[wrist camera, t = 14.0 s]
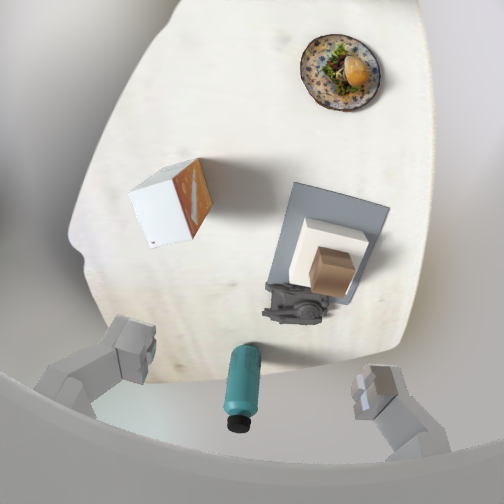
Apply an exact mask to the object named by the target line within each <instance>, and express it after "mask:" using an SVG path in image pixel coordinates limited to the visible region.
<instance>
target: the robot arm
mask: <svg viewBox="0 0 504 504" xmlns="http://www.w3.org/2000/svg"><path fill="white" fill-rule="evenodd" d="M155 334H156V326H155V325H153V324H149V323H146V322H143V321H139V320H136V319H133V318H129V317H126V316H123V315H120V314H118V315H117V316H116V317H115V318H114V320H113V321H112V323H111V325H110V326H109V328H108V330H107V331H106V333H105V335H104V336H103V338H102V340H101V342H100V343H97V342H96V343H93V344H91V345H89V346H87V347H85V348H83V349H81V350H79V351H77V352H75V353H73V354H71V355H69V356H67V357H65V358H63V359H61V360H59V361H57V362H55V363H53V364H51V365H49V366H48V367H47V368H46V370H45V372H44V373H43V375H42V377H41V378H40V380H39V381H38V383H37V385H36V386H35V388H34V390H32V389H30V388H28V387H27V386H25V385H23V384H21V383H20V382H18V381H16V380H14V379H13V378H11V377H9V376H8V375H6V374H5V373H3V372H1V371H0V504H504V439H499V440H496V441H492V442H489V443H486V444H482V445H478V446H475V447H471V448H467V449H462V450H458V451H454V452H451V449H450V446H449V442H448V438H447V435H446V432H445V429H444V428H443V427H442V426H441V425H440V424H439V423H438V422H437V421H436V420H435V419H434V418H433V417H432V416H431V415H430V414H429V413H428V412H427V411H426V410H425V409H424V408H423V407H422V406H421V405H420V404H419V403H418V402H417V401H416V400H415V398H413V396H409V394H408V390H407V387H406V384H405V381H404V378H403V374H402V372H401V368H400V367H399V366H395V365H394V366H393V365H382V364H368V363H367V364H365V365H364V366H363V367H362V369H361V371H362V373H361V374H359V375H357V376H356V377H355V379H354V381H353V383H352V387H351V394H352V398H353V399H354V400H355V401H356V403H355V404H354V413H355V419H356V420H373V422H374V423H375V425H376V426H377V428H378V429H379V430H380V432H381V433H382V435H383V436H384V437H385V439H386V440H387V442H388V443H389V445H390V446H391V447H392V449H393V450H394V453H393V454H392V455H390V456H389V457H388V458H387V459H386V460H385V461H386V462H379V463H365V464H299V463H284V462H272V461H262V460H253V459H246V458H238V457H232V456H226V455H220V454H215V453H209V452H205V451H200V450H195V449H190V448H186V447H182V446H178V445H174V444H170V443H166V442H162V441H159V440H155V439H152V438H148V437H145V436H142V435H138V434H136V433H132V432H129V431H126V430H123V429H121V428H118V427H115V426H112V425H109V424H107V423H104V422H102V421H99V420H96V415H95V413H94V411H93V408H92V406H91V404H90V403H91V402H93V401H94V400H95V399H97V398H98V397H100V396H101V395H103V394H104V393H105V392H107V391H108V390H110V389H111V388H112V387H114V386H115V385H116V384H118V383H119V382H121V381H122V379H124V380H127V381H130V382H133V383H137V384H141V385H143V384H144V381H145V379H146V376H147V374H148V365H149V364H151V363H152V361H153V359H154V355H155V351H156V339H155V338H154V336H155Z"/></svg>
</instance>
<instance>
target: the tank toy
mask: <svg viewBox="0 0 504 504" xmlns="http://www.w3.org/2000/svg"><path fill="white" fill-rule="evenodd" d="M266 288H267V291H269V292H270V291H271V293H272V298H271V309H268V308H265V309H264V311H262V316H267V317H269V318H271V320H272V321H277V322H279V324H300V325H316V324H318V323H321V322H322V316H326V315H327V306H328V305H329V296H328V295H323V294H318V293H312V292H311V287H306V286H301V285H296V284H291V283H290V282H288V283H286V282H284V283H283V284H282V283H280V284H278V283H274V284H267V282H266V286H265V289H266Z"/></svg>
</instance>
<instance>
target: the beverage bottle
mask: <svg viewBox="0 0 504 504" xmlns="http://www.w3.org/2000/svg"><path fill="white" fill-rule="evenodd" d="M260 362H261V354H260V352H259V351H258V350H257V349H256V348H254V347H252V346H248V345H242V346H238V347H236V348H235V349H234V350H233V351H232V354H231V361H230V364H229V365H230V367H229V373H228V377H227V378H228V381H227V389H226V396H225V403H224V406H223V407H224V410H225V412H227V414H229V415H230V416H229V417H228V420H227V421H228V424H227V427H228V429H229V430H230V431H232V432H235V433H246V432H248V431H249V429H250V424H251V419H250V417H251V416H253V415H255V414H256V413H257V411H258V407H257V405H258V391H259V379H260V367H261V364H260Z"/></svg>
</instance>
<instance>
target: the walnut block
mask: <svg viewBox="0 0 504 504" xmlns="http://www.w3.org/2000/svg"><path fill="white" fill-rule="evenodd" d="M355 271H356V270H355V268H354V265H353V263H352V260H351V258H350V255H349V253H347V252H342V251H338V250H334V249H329V248H325V247H320V246H318V248H317V251H316V254H315V257H314V260H313V263H312V266H311V268H310V271H309V278H310V285H311V292H312V293H318V294H323V295H328V296H333V297H339V298H344V296H345V293H346V291H347V289H348V287H349V284H350V282H351V280H352V278H353V275H354V273H355Z"/></svg>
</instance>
